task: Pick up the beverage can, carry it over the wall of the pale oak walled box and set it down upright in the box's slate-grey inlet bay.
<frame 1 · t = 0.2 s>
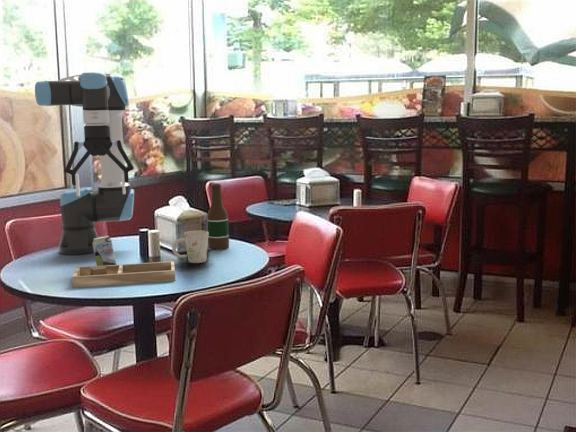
hand: (101, 194, 217), 27 cm above the table, fingers open, 13 cm apart
beer bottle: (218, 248, 265), on the table
walled box: (125, 281, 219), on the table
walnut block: (99, 280, 217), point 1 cm above the table, touching walled box
beverage can: (105, 273, 231), on the table
mug: (191, 262, 243), on the table
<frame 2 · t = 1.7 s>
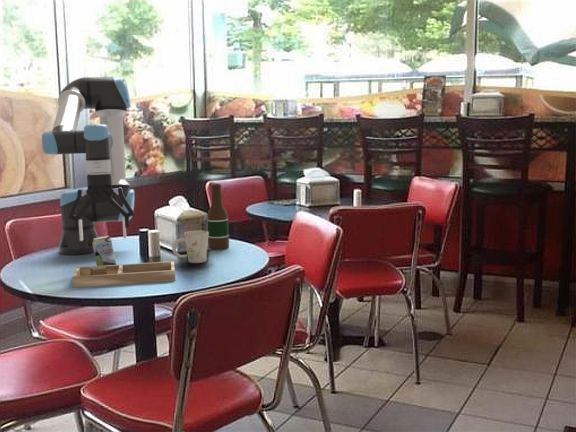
hand: (103, 239, 229), 11 cm above the table, fingers open, 13 cm apart
nothing on the table moved.
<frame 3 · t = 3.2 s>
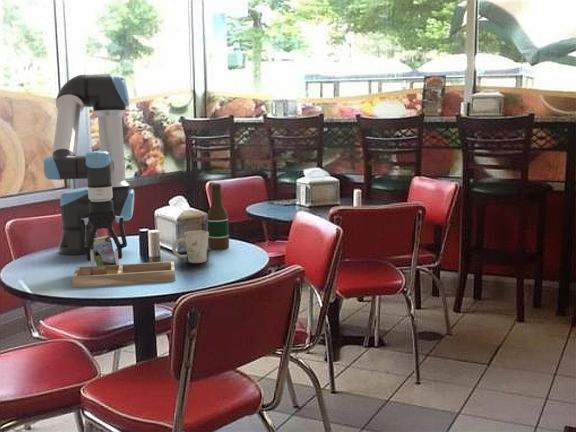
hand: (105, 269, 231), 1 cm above the table, fingers closed on beverage can, 7 cm apart
beverage can: (105, 273, 231), on the table, touching gripper
everything else where it was.
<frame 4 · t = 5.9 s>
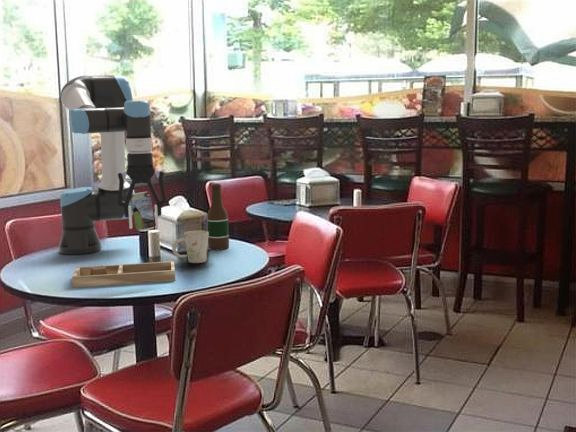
hand: (144, 227, 217), 17 cm above the table, fingers closed on beverage can, 7 cm apart
beverage can: (144, 231, 217), point 15 cm above the table, touching gripper
everything else where it was.
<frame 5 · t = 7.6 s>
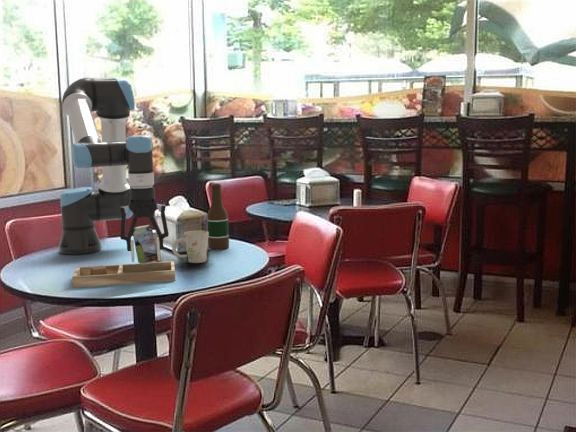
hand: (146, 260, 219), 6 cm above the table, fingers closed on beverage can, 7 cm apart
beverage can: (146, 264, 219), point 5 cm above the table, touching gripper
everything else where it was.
when the fingers open (4 cm above the table, at t = 8.8 s): beverage can drops 2 cm, resting on walled box.
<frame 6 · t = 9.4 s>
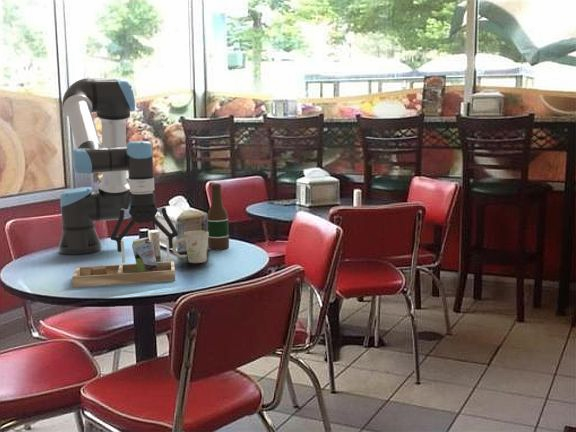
hand: (146, 260, 219), 6 cm above the table, fingers open, 13 cm apart
beverage can: (147, 276, 220), point 1 cm above the table, touching walled box
everything else where it was.
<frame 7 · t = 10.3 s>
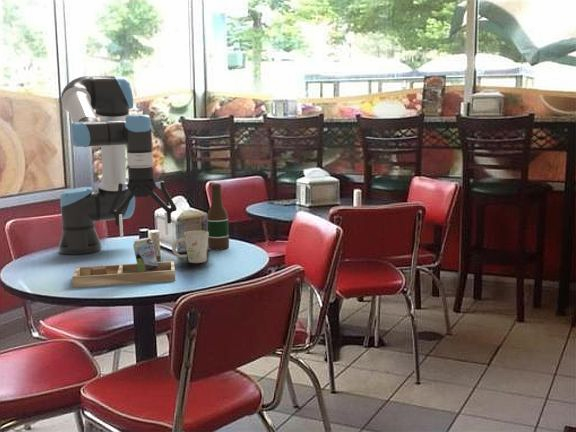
hand: (144, 235, 218), 14 cm above the table, fingers open, 13 cm apart
nothing on the table moved.
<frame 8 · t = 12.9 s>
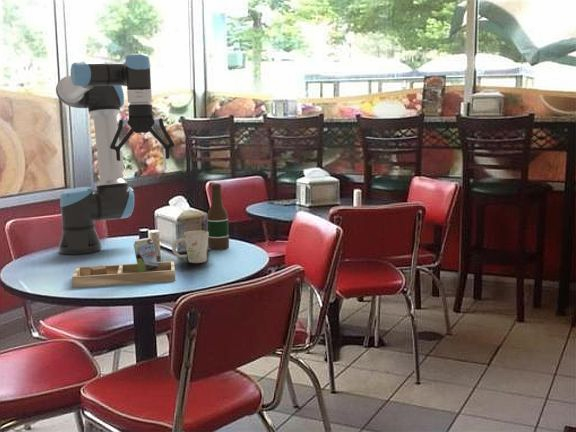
hand: (143, 170, 230), 33 cm above the table, fingers open, 13 cm apart
nothing on the table moved.
at the end: beverage can inside the target area on the walled box (0.2 cm from its centre), point 1.0 cm above the walled box's base; beverage can tilted 0°; the gripper is holding nothing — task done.
